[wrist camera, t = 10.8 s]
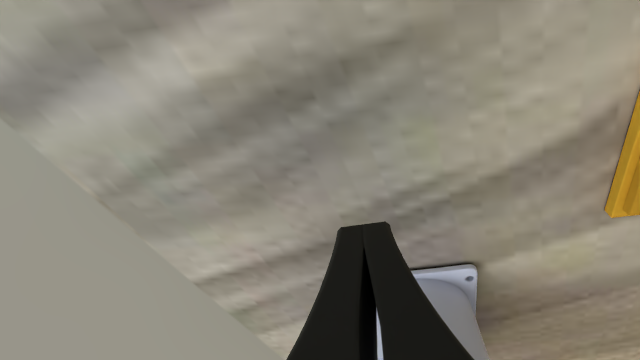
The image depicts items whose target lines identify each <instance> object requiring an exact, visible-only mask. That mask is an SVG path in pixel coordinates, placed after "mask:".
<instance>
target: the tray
mask: <svg viewBox="0 0 640 360" xmlns="http://www.w3.org/2000/svg"><path fill="white" fill-rule="evenodd" d="M605 211H606V212H607V213H608V215H609V216H610V217H611V218H614V217H622V216H633V215H640V91H639V95H638V98H637V102H636V105H635V108H634V112H633V115H632V119H631V122H630V125H629V129H628V132H627V136H626V139H625V142H624V146H623V149H622V153H621V156H620V159H619V163H618V166H617V170H616V173H615V176H614V180H613V183H612V187H611V190H610V193H609V197H608V200H607V204H606V207H605Z"/></svg>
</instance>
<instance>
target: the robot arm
mask: <svg viewBox="0 0 640 360" xmlns="http://www.w3.org/2000/svg"><path fill="white" fill-rule="evenodd" d="M477 275H478V272H477V269H476V267H475V266H474V265H472V264H466V265H458V266H449V267H440V268H431V269H422V270H414V271H410V269H409V267H408V266H407V264H406V262H405V260H404V258H403V256H402V254H401V252H400V250H399V248H398V246H397V244H396V242H395V239H394V237H393V234H392V232H391V228H390V224H388V223H387V222H378V223H371V224H363V225H356V226H348V227H341V228H340V229H339V230H338V232H337V238H336V242H335V246H334V250H333V253H332V257H331V260H330V263H329V266H328V269H327V272H326V274H325V277H324V280H323V283H322V285H321V288H320V291H319V293H318V296H317V298H316V300H315V303H314V305H313V307H312V309H311V312H310V314H309V316H308V318H307V321H306V323H305V325H304V327H303V329H302V331H301V333H300V335H299V337H298V339H297V341H296V343H295V345H294V347H293V349H292V350H291V352H290V354H289V356H288V358H287V360H490V359H489V356H488V353H487V350H486V347H485V344H484V341H483V338H482V336H481V333H480V330H479V327H478V324H477V321H476V297H477ZM468 276H469V277H468Z"/></svg>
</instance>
